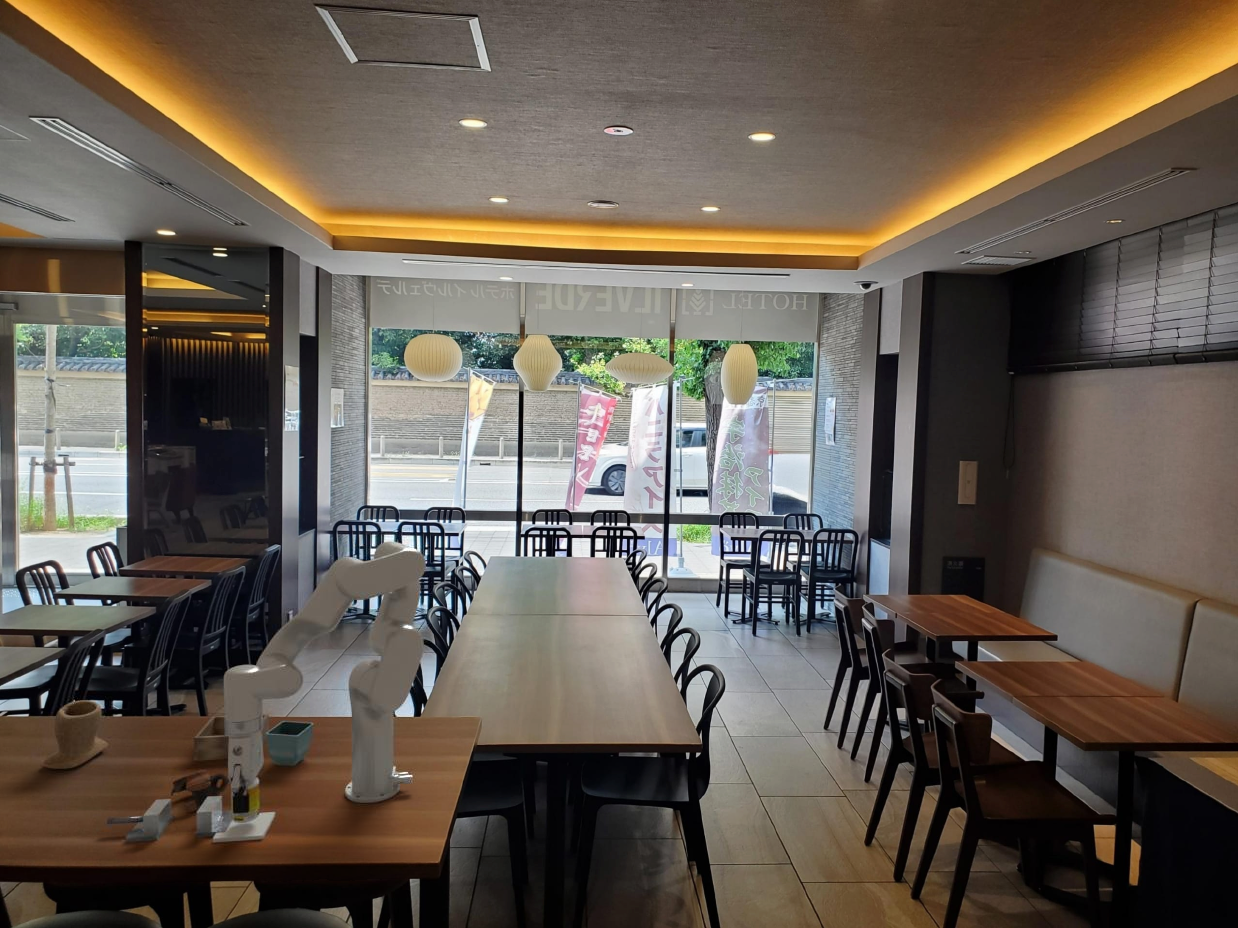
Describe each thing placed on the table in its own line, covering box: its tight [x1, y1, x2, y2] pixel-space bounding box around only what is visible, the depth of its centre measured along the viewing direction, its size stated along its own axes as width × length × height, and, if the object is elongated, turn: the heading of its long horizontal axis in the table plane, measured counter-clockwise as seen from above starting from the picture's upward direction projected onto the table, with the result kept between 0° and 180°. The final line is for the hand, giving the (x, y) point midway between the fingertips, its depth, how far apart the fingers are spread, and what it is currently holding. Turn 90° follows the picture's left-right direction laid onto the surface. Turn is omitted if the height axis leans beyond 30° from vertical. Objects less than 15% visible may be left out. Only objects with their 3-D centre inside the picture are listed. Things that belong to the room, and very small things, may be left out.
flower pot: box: [265, 720, 315, 767], centre depth 207 cm, size 9×9×9 cm
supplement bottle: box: [230, 776, 261, 823], centre depth 174 cm, size 6×6×10 cm
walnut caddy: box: [193, 713, 270, 762], centre depth 215 cm, size 15×15×6 cm
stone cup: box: [42, 699, 109, 770], centre depth 206 cm, size 15×12×15 cm
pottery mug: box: [170, 769, 230, 813], centre depth 186 cm, size 12×10×8 cm
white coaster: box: [212, 811, 276, 843], centre depth 175 cm, size 10×10×1 cm
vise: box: [106, 795, 232, 843], centre depth 174 cm, size 25×9×5 cm, turn 100°
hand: (245, 804), depth 174 cm, fingers closed on supplement bottle, 5 cm apart
